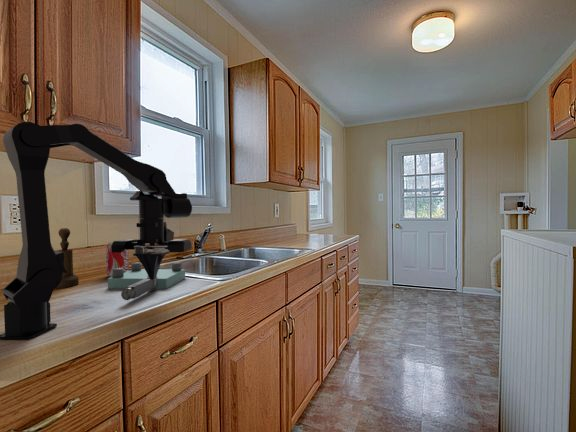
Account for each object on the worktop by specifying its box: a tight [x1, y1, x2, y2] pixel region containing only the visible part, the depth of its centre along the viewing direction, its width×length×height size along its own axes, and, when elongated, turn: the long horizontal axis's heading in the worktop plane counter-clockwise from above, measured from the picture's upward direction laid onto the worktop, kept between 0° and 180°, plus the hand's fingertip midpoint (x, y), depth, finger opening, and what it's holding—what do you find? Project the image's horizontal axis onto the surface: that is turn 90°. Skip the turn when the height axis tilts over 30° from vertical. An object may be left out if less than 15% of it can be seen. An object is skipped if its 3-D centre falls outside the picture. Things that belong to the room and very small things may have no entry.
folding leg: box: [120, 275, 158, 301], centre depth 82 cm, size 14×3×4 cm, turn 177°
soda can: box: [105, 241, 130, 278], centre depth 109 cm, size 7×7×12 cm
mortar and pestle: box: [55, 227, 79, 289], centre depth 96 cm, size 7×6×18 cm
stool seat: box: [107, 261, 186, 290], centre depth 98 cm, size 14×18×6 cm
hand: (152, 279), depth 79 cm, fingers closed
